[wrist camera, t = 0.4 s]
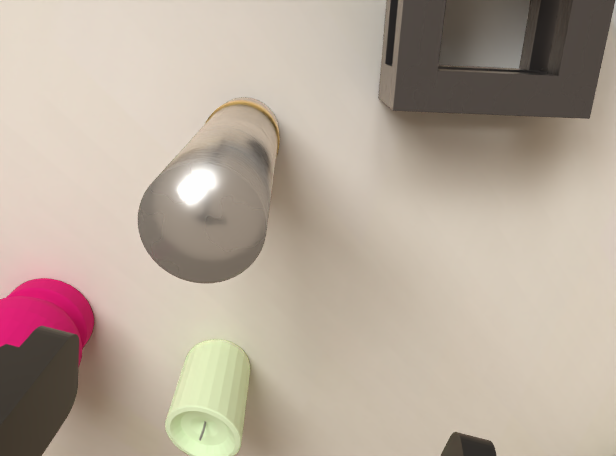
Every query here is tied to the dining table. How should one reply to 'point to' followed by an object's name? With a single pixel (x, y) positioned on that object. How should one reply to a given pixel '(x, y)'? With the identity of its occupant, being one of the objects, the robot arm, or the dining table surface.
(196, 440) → the candle
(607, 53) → the dining table surface
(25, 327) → the pepper mill
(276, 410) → the dining table surface
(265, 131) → the metal can
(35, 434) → the robot arm
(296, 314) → the dining table surface
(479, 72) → the collar stand
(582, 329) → the dining table surface
